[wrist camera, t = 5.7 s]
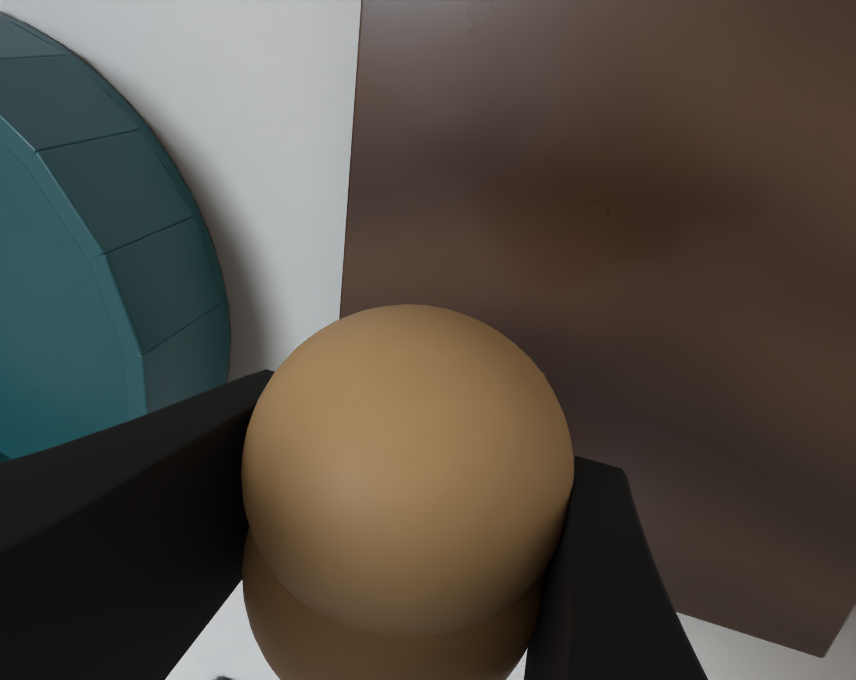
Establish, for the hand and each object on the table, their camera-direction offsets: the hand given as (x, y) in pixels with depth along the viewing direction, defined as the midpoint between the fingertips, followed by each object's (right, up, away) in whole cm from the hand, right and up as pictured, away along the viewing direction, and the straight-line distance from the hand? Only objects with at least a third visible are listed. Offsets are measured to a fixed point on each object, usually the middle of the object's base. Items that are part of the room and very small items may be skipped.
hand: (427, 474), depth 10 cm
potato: (0, 0, +1) cm, 1 cm away
